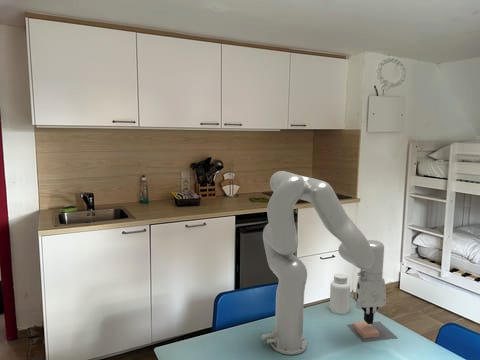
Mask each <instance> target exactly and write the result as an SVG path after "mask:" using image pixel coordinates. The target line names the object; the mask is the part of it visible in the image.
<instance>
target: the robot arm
mask: <svg viewBox="0 0 480 360" xmlns="http://www.w3.org/2000/svg"><path fill="white" fill-rule="evenodd" d="M269 188H271V191H272V192H273V193H272V195H271V196H270V198H269V201H268V203H267V207H266V210H267V211H266V213H267V214H266V215H267V220H268V223H267V224H266V225H265V226H264V227H263V232H262V240H263V247H264V251H265V255H266V261H267V264H268V267H269V269H270V271H272V273H273V274H274V275H275V276H276V277H277V279H278V280H277V281H278V284H277V287H276V290H275V291H276V292H275V317H274V318H275V320H274V322H275V323H274V325H275V326H274V329H272V332H270V333H262V334H261V335H260V336H261V340H262V341H266V344H270V346H271V347H272V349H273V350H274V351H276V352H278V353H280V354H284V355H293V356H294V355H299V354H301V353H304V352H305V351H306V349H307V348H308V341H307V340H306V338H305V337H304V336H303V335H304V334H303V333H304V312H305V311H304V310H305V307H304V306H305V290H306V285H307V280H308V270H307V267H306V265H305V264H304V262H303V261H302V260H301V259H299V257H298V256H296V255H294V254H295V253H296V252H297V250H298V247H299V237H298V233H297V228H296V227H297V226H296V223H295V216H294V215H295V214H294V208H295V205H296V204H297V202H298V201H299V200H302V201H305V202H308V203H310V204H311V205H312V207H313V208H314V210H315V212H316V213H317V215H318V217H319V219H320V220H321V222H322V224H323V225H324V228H325V229H326V230H327V231H328V232H329V233H330V234H331V235H332V236H333V237H336V238H337V240H339V241H340V242H341V243H340V244H339V246H338V254H339V256H340V257H341V258H342V259H343V260H345V261H347V263H350V264H351V265H353V266H354V267H356V268H358V269H359V272H357V276H358V279H357V283H356V286H355V287H356V288H355V294H354V295H355V296H354V298H355V299H354V300H355V302H356V303H355V306H354V307H355V308H356V309H358V310H362V311H363V320H364V321H365V322H366V323H367V324H373V322H374V318H375V316H374V315H375V314H376V312H377V310H378V309H379V308H382V307H384V306H385V305H386V301H387V290H386V289H387V287H386V280H385V279H384V277H383V276H384V275H383V272H384V256H385V245H384V243H382V242H381V241H379V240H374V239H367V238H366V236H365V235H364V233H363V232H362V231H361V230H360V228H359V227H358V226H357V225H356V223H354V221H353V220H352V219H351V218H350V217H349V215H348V214H347V213H346V210H345V209H344V207H343V205H342V203H341V201H340V199H339V198H338V196H337V194H336V192H335V191H334V189H333V187H332V186H331V184H329V183H328V182H326V181H324V180H320V179H318V178H313V177H308V176H304V175H300V174H296V173H293V172H289V171H285V170H280V171H277V172H274V173H273V174H272V175H271V177H270V179H269Z"/></svg>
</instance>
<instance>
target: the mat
mask: <svg viewBox="0 0 480 360" xmlns="http://www.w3.org/2000/svg"><path fill="white" fill-rule="evenodd" d="M371 325H372V326H373V327H374V328H375V329H376V330H377V331H378V332H379V337H371V338H363V337H362V336H361V335H360V334H359V332H358V331H357V330H356V329H355V328H354V327H353V323H352V324H350V323H349V324H346V326H347V327H348V328H349V329H350V331H351V332H353V334H354V335H355V336H356V337H357V338H358V339H359V340H360V341H361V342H362V343H370V342H378V341H387V340H388V341H389V340H396V339H399V337H397V335H395V334H394V333H393V332H392V331H391V330H390V329H388V327H386V326H385V325H384V323H382V322H381V321H380V320H379V321H373V324H371Z"/></svg>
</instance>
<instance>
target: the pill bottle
mask: <svg viewBox="0 0 480 360" xmlns="http://www.w3.org/2000/svg"><path fill="white" fill-rule="evenodd" d="M333 276H334V277H333V280H332V281H331V282H330V285H329V287H330V288H329V289H330V291H329V310H330V311H331V312H333V313H334V314H338V315H346V314H348V313H349V312H350V304H351V303H350V302H351V285H350V282H348V275H347V274H344V273H335V274H334V275H333Z"/></svg>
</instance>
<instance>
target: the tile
mask: <svg viewBox="0 0 480 360" xmlns="http://www.w3.org/2000/svg"><path fill="white" fill-rule="evenodd" d="M352 324H353V327H354V328H355V329H356V330H357V331H358V332H359V334H360V335H361V336H362V337H363V338H371V337H379V332H378V331H377V330H376V329H375V328H374V327H373V326H372V325H371V324H367V323H366V322H365V320H364V321H357V322H356V321H353V322H352Z"/></svg>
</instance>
